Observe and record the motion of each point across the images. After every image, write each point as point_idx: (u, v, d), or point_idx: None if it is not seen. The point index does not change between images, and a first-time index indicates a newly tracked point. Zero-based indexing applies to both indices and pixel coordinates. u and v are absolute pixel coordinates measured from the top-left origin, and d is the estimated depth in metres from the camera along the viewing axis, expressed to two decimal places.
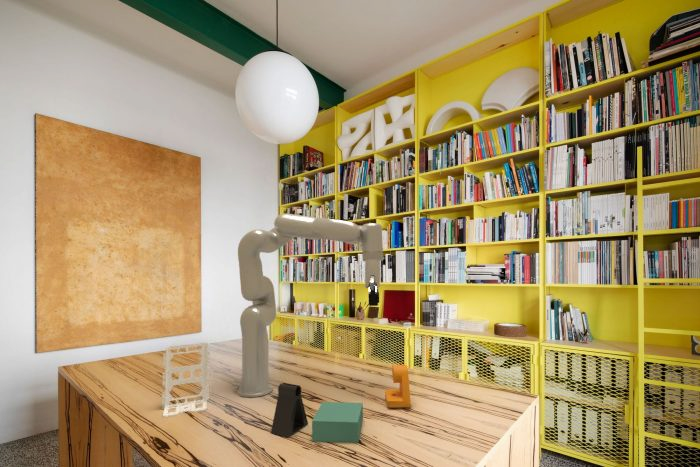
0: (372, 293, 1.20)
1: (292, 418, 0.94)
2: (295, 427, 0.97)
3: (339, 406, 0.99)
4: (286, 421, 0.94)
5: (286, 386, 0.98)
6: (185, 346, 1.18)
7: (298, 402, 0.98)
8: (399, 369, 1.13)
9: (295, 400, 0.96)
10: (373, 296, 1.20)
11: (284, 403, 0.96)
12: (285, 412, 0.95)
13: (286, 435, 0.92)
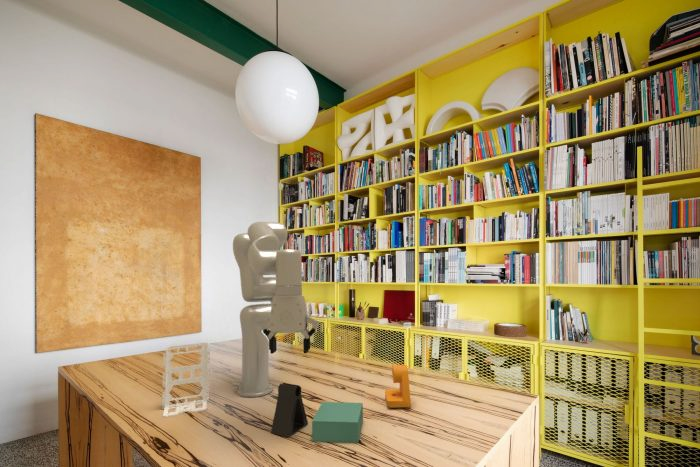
0: (310, 336, 0.99)
1: (292, 418, 0.94)
2: (295, 427, 0.97)
3: (339, 406, 0.99)
4: (286, 421, 0.94)
5: (286, 386, 0.98)
6: (185, 346, 1.18)
7: (298, 402, 0.98)
8: (399, 369, 1.13)
9: (295, 400, 0.96)
10: (309, 340, 0.99)
11: (284, 403, 0.96)
12: (285, 412, 0.95)
13: (286, 435, 0.92)
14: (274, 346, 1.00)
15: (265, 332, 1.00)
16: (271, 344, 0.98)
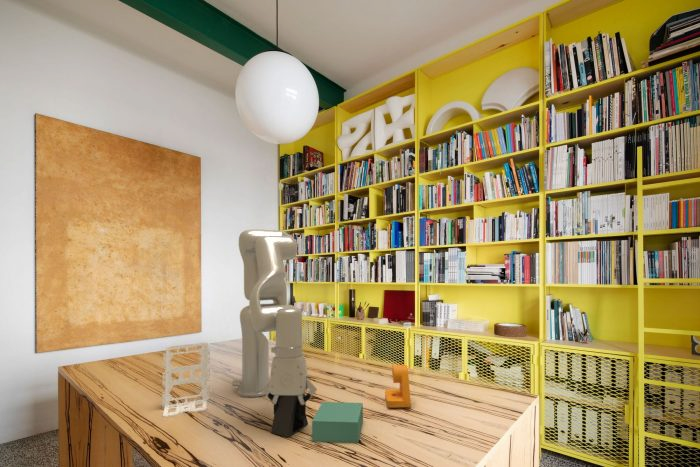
0: (305, 402, 0.97)
1: (292, 418, 0.94)
2: (295, 427, 0.97)
3: (339, 406, 0.99)
4: (286, 421, 0.94)
5: None
6: (185, 346, 1.18)
7: (298, 402, 0.97)
8: (399, 369, 1.13)
9: (295, 400, 0.95)
10: (304, 405, 0.97)
11: (284, 403, 0.96)
12: (285, 412, 0.95)
13: (286, 435, 0.92)
14: None
15: (270, 397, 0.98)
16: (276, 410, 0.97)
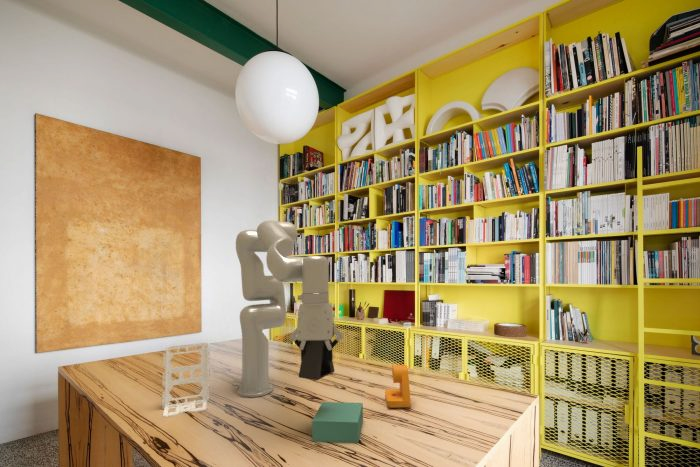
0: None
1: (320, 362, 0.94)
2: (322, 373, 0.98)
3: (339, 406, 0.99)
4: (313, 365, 0.94)
5: None
6: (185, 346, 1.18)
7: (325, 348, 0.98)
8: (399, 369, 1.13)
9: (322, 345, 0.96)
10: (331, 351, 0.98)
11: (311, 348, 0.97)
12: (312, 357, 0.95)
13: (314, 378, 0.92)
14: None
15: (297, 343, 0.98)
16: (303, 355, 0.97)
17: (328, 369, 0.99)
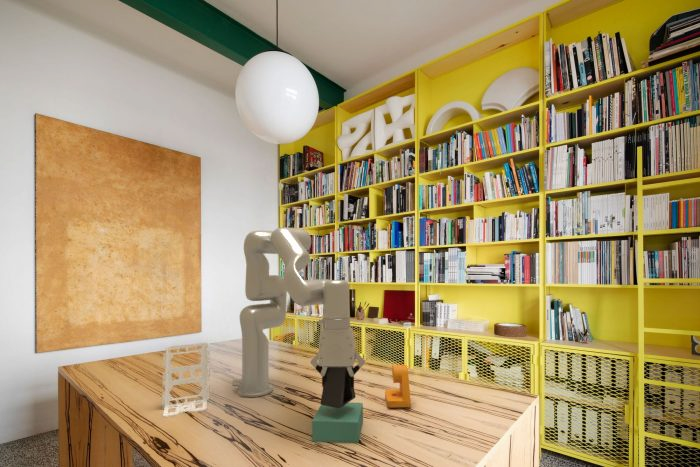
0: (354, 374, 0.96)
1: (342, 389, 0.93)
2: (344, 399, 0.96)
3: None
4: (336, 392, 0.93)
5: None
6: (185, 346, 1.18)
7: (346, 374, 0.97)
8: (399, 369, 1.13)
9: (344, 371, 0.95)
10: (353, 377, 0.96)
11: (333, 375, 0.95)
12: (335, 383, 0.94)
13: (337, 406, 0.91)
14: None
15: (318, 369, 0.97)
16: None
17: (349, 395, 0.97)
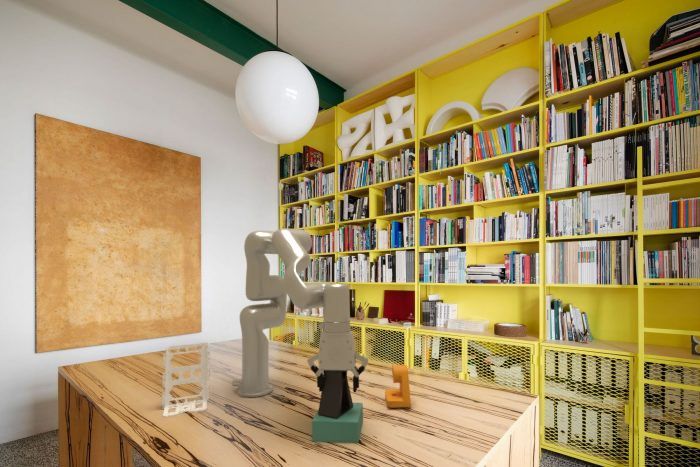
0: (359, 374, 0.96)
1: (340, 399, 0.93)
2: (341, 409, 0.96)
3: None
4: (333, 403, 0.93)
5: None
6: (185, 346, 1.18)
7: (344, 384, 0.96)
8: (399, 369, 1.13)
9: (342, 382, 0.94)
10: (358, 378, 0.96)
11: (330, 385, 0.95)
12: (332, 394, 0.94)
13: (335, 416, 0.91)
14: (322, 383, 0.97)
15: (313, 369, 0.97)
16: (320, 382, 0.96)
17: (347, 405, 0.97)
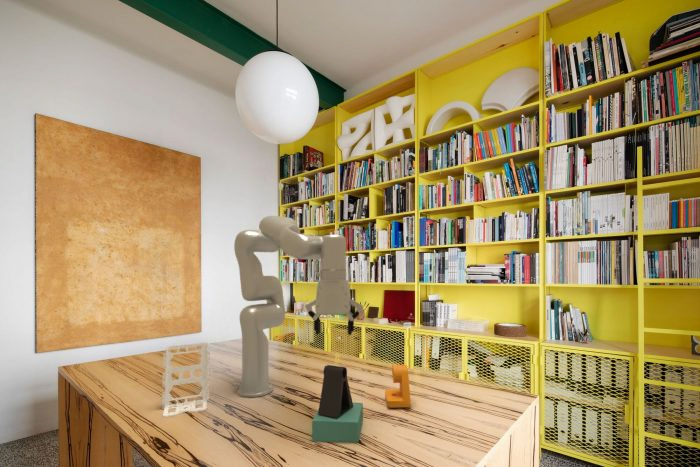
0: None
1: (340, 399, 0.93)
2: (341, 409, 0.96)
3: None
4: (333, 403, 0.93)
5: (332, 368, 0.97)
6: (185, 346, 1.18)
7: (344, 384, 0.96)
8: (399, 369, 1.13)
9: (342, 382, 0.94)
10: (353, 322, 1.02)
11: (330, 385, 0.95)
12: (332, 394, 0.94)
13: (335, 416, 0.91)
14: (319, 327, 1.03)
15: (310, 314, 1.03)
16: (316, 325, 1.02)
17: (347, 405, 0.97)
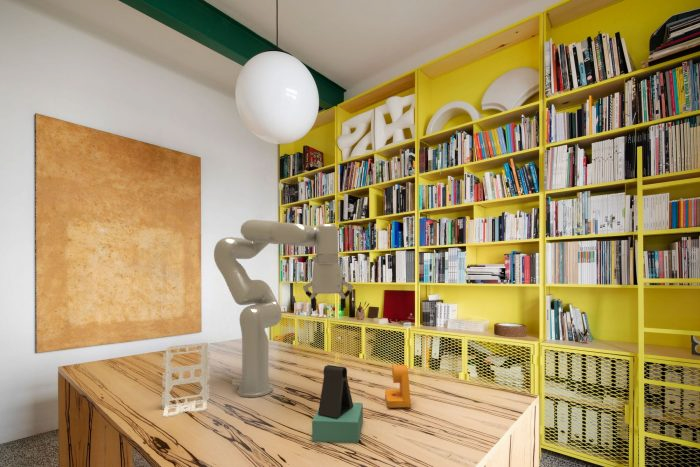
0: None
1: (340, 399, 0.93)
2: (341, 409, 0.96)
3: None
4: (333, 403, 0.93)
5: (332, 368, 0.97)
6: (185, 346, 1.18)
7: (344, 384, 0.96)
8: (399, 369, 1.13)
9: (342, 382, 0.94)
10: (345, 300, 1.17)
11: (330, 385, 0.95)
12: (332, 394, 0.94)
13: (335, 416, 0.91)
14: (315, 305, 1.18)
15: (307, 293, 1.18)
16: (313, 303, 1.17)
17: (347, 405, 0.97)
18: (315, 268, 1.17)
